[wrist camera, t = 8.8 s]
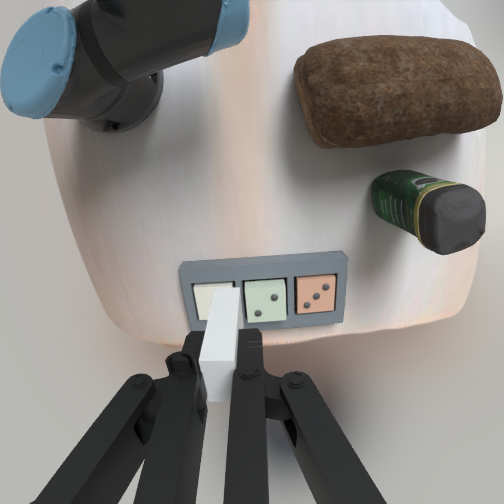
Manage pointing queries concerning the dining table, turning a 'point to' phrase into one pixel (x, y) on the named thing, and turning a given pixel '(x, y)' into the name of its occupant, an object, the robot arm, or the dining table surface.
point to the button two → (265, 300)
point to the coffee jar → (431, 209)
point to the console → (264, 270)
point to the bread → (394, 89)
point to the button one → (207, 296)
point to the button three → (315, 293)
